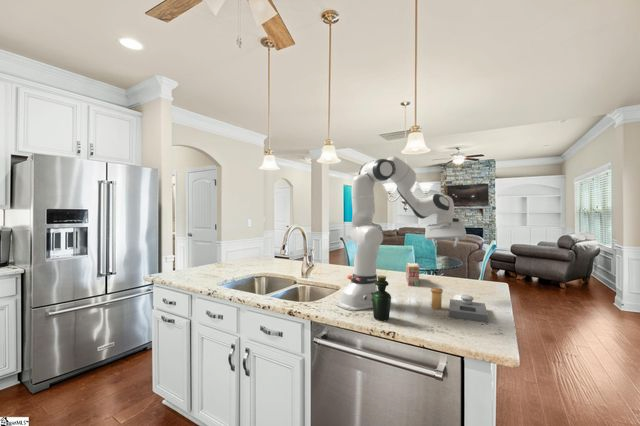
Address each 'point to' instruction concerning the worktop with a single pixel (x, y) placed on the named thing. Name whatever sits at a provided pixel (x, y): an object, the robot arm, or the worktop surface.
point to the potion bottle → (381, 300)
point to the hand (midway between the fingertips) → (444, 246)
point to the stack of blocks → (412, 274)
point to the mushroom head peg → (436, 298)
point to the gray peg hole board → (468, 309)
